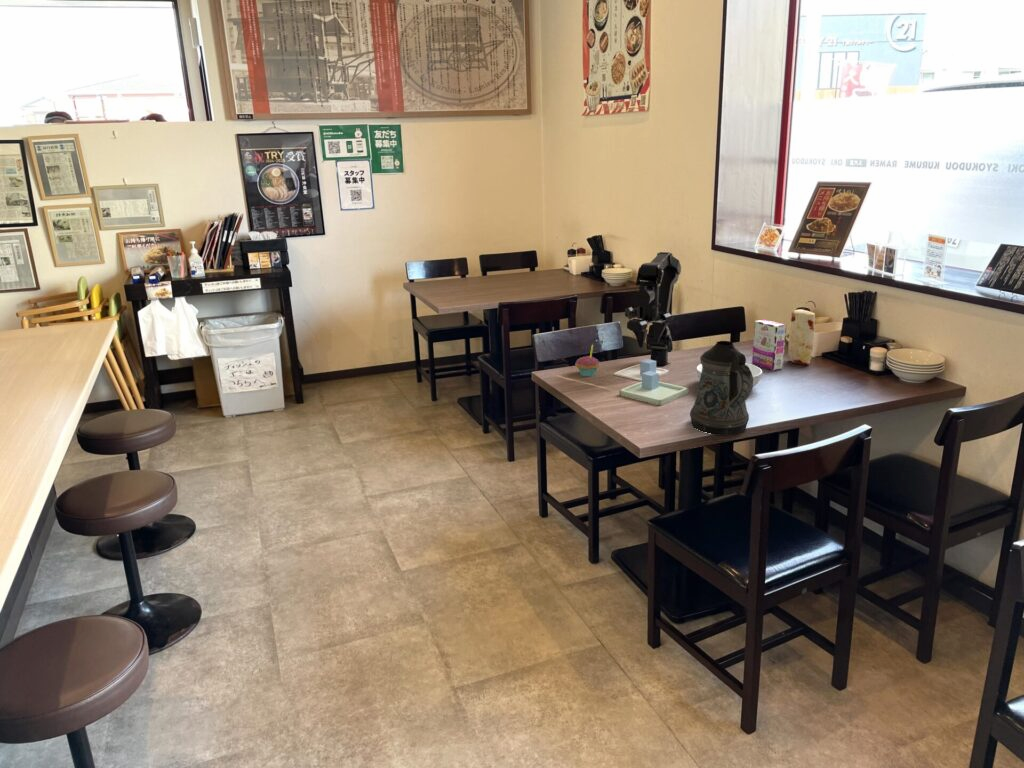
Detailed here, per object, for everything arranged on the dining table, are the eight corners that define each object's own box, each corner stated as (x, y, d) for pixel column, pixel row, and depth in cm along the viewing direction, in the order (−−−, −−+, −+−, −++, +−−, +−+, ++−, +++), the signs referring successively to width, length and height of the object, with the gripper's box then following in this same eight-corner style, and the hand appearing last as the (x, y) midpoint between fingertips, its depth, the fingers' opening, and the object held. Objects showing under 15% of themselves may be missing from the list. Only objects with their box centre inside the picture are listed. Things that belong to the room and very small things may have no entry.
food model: (782, 362, 276) (786, 308, 270) (794, 358, 280) (799, 306, 274) (805, 367, 268) (810, 313, 262) (817, 364, 272) (822, 310, 266)
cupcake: (599, 372, 271) (599, 340, 268) (599, 379, 263) (599, 346, 260) (575, 372, 272) (575, 340, 269) (575, 379, 264) (574, 346, 261)
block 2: (648, 385, 253) (649, 370, 251) (658, 387, 250) (658, 373, 249) (641, 387, 250) (641, 373, 249) (651, 390, 248) (651, 375, 246)
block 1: (646, 372, 267) (647, 359, 266) (656, 374, 265) (656, 361, 263) (640, 375, 265) (640, 361, 263) (649, 377, 262) (649, 363, 260)
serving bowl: (764, 399, 238) (765, 379, 236) (696, 397, 242) (697, 377, 240) (757, 379, 257) (758, 360, 255) (694, 378, 261) (695, 359, 259)
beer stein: (705, 411, 229) (709, 332, 221) (767, 424, 217) (773, 341, 209) (679, 427, 217) (682, 344, 209) (743, 442, 205) (749, 354, 197)
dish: (638, 366, 276) (638, 363, 276) (668, 373, 267) (668, 370, 267) (613, 376, 266) (613, 373, 266) (643, 383, 257) (643, 380, 257)
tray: (647, 383, 257) (648, 378, 256) (688, 393, 246) (688, 388, 245) (619, 395, 246) (619, 390, 246) (659, 405, 235) (660, 400, 235)
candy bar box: (783, 369, 268) (787, 324, 263) (773, 371, 266) (776, 326, 261) (761, 362, 277) (764, 318, 272) (751, 364, 275) (754, 320, 270)
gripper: (646, 293, 268) (645, 335, 273) (614, 302, 256) (613, 346, 261) (672, 297, 260) (671, 340, 265) (641, 306, 248) (640, 352, 253)
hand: (648, 344), depth 261 cm, fingers open, 9 cm apart
